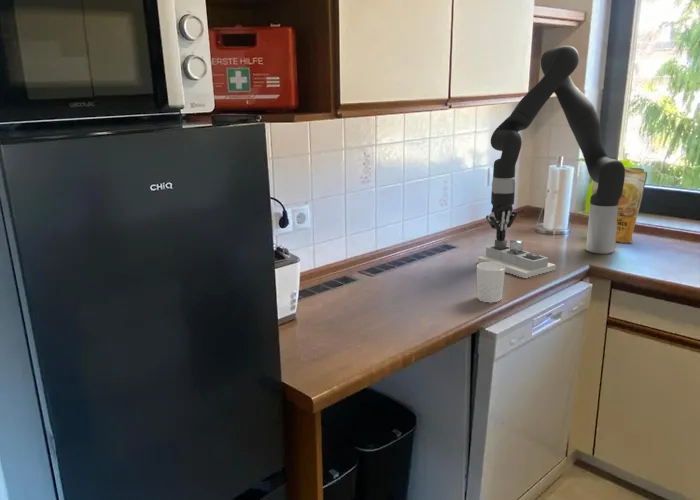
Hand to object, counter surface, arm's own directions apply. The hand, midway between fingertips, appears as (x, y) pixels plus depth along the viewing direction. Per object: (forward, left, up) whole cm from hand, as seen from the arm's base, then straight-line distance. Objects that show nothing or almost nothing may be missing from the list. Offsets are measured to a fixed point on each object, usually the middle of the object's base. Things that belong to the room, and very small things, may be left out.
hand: (500, 240), depth 197 cm
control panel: (0, +7, -8) cm, 10 cm away
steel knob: (0, +7, -2) cm, 7 cm away
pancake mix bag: (-55, +5, -8) cm, 56 cm away
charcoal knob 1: (0, 0, -3) cm, 4 cm away
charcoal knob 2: (0, +14, -5) cm, 15 cm away
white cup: (+29, +24, -8) cm, 38 cm away
